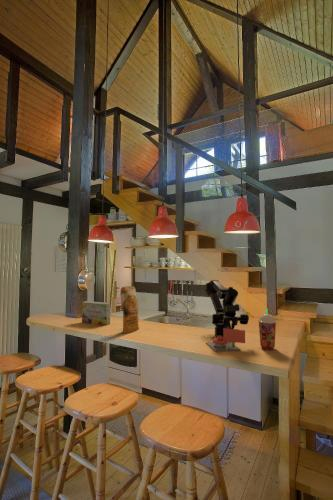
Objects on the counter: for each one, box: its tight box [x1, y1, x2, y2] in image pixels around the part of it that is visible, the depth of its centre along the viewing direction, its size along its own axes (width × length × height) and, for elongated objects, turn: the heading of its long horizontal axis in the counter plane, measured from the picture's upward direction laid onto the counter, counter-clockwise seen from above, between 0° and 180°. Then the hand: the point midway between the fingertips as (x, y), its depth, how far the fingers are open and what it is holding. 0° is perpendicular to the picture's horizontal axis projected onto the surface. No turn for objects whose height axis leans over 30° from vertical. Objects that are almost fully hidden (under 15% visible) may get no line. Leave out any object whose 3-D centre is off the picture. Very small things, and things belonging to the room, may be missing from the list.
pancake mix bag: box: [120, 285, 140, 334], centre depth 175 cm, size 7×19×28 cm, turn 152°
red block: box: [212, 328, 246, 344], centre depth 139 cm, size 16×7×7 cm, turn 67°
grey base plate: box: [205, 341, 241, 352], centre depth 141 cm, size 13×14×3 cm
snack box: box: [81, 300, 111, 326], centre depth 196 cm, size 21×6×15 cm, turn 67°
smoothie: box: [258, 308, 277, 351], centre depth 139 cm, size 8×8×20 cm
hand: (232, 333), depth 140 cm, fingers closed
